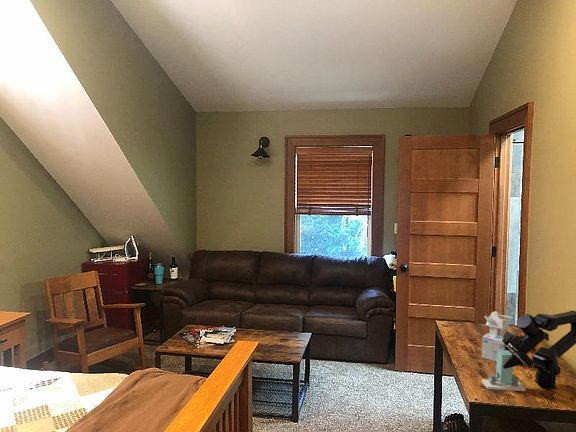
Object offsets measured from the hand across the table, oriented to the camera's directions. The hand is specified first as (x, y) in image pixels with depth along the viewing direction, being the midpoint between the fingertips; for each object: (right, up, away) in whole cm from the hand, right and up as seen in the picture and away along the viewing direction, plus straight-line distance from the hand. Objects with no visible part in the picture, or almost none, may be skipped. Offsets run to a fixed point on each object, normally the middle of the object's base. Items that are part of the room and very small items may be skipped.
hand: (501, 365), depth 192 cm
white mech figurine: (+19, -6, +47) cm, 51 cm away
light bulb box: (+11, -7, +30) cm, 33 cm away
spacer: (+1, -7, 0) cm, 7 cm away
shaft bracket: (+1, -9, +1) cm, 9 cm away
